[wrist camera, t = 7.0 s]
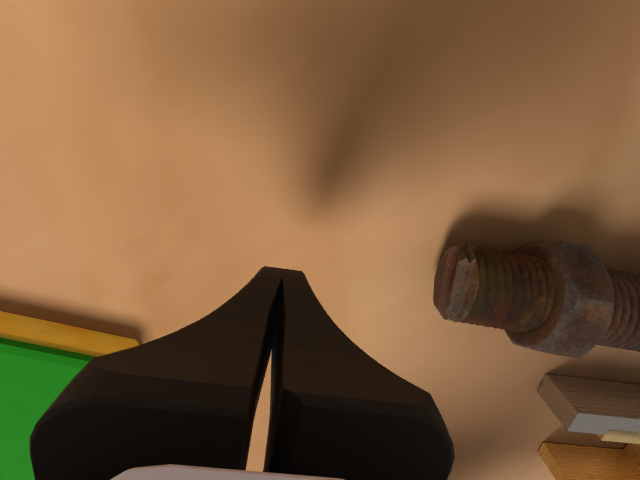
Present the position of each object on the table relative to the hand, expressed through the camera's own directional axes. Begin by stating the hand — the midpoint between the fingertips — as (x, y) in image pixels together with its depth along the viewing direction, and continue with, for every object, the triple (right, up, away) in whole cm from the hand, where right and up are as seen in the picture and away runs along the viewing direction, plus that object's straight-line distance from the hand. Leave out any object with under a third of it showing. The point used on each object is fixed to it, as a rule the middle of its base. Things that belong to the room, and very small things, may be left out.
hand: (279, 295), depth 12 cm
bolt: (+14, 0, +6) cm, 15 cm away
